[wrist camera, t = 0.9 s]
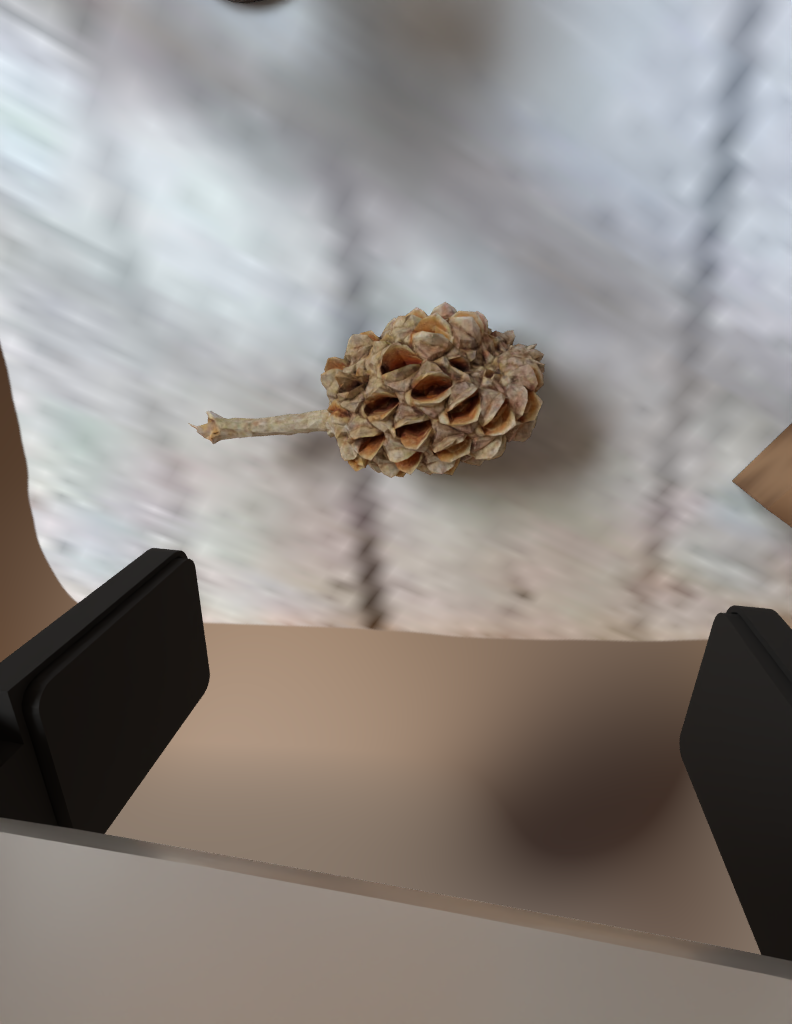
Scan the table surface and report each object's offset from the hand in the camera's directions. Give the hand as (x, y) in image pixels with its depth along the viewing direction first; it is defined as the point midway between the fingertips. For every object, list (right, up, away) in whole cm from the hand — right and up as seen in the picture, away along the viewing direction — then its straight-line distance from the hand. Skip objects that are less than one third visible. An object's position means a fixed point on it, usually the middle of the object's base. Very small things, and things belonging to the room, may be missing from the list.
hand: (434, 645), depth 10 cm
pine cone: (-2, +10, +28) cm, 30 cm away
